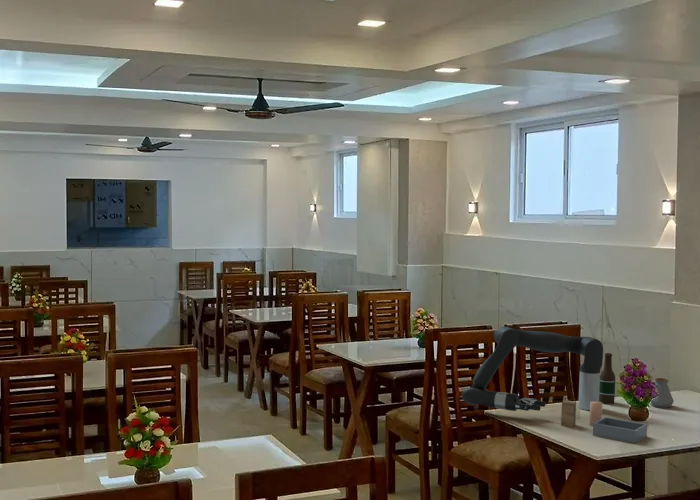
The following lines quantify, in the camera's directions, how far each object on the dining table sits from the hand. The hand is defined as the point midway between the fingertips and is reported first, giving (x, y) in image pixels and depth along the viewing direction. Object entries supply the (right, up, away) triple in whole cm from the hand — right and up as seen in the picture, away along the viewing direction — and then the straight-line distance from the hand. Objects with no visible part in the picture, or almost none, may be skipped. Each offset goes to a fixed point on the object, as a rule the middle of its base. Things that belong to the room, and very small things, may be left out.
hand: (542, 406), depth 358 cm
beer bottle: (+40, -6, +40) cm, 57 cm away
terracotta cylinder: (+22, -7, -4) cm, 23 cm away
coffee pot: (+60, -7, +33) cm, 69 cm away
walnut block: (+10, -7, -5) cm, 13 cm away
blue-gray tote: (+27, -8, -20) cm, 35 cm away
